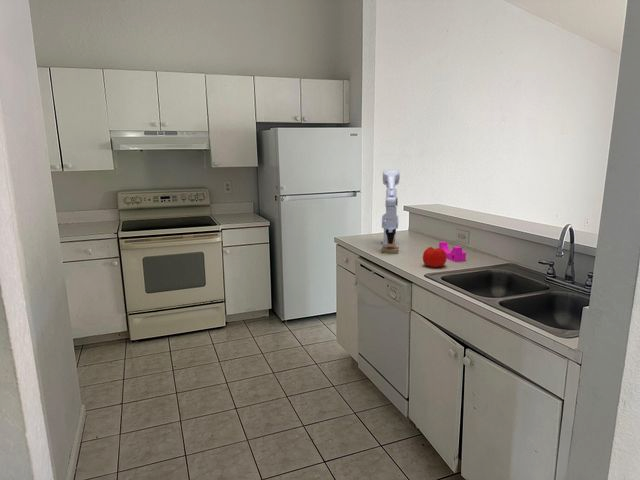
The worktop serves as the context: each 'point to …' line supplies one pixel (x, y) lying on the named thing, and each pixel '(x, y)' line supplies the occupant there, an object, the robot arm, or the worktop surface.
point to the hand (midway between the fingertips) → (390, 242)
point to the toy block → (453, 252)
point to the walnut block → (390, 250)
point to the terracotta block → (392, 243)
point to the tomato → (434, 257)
